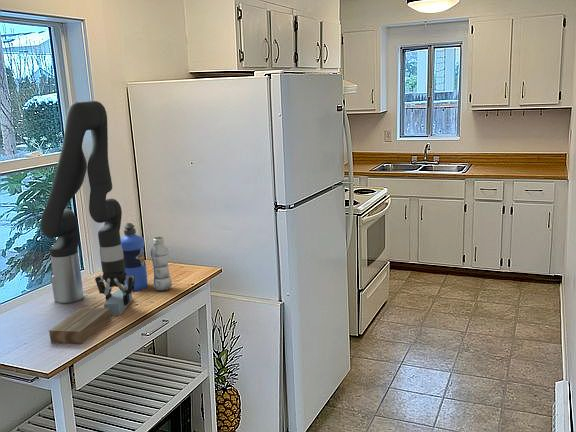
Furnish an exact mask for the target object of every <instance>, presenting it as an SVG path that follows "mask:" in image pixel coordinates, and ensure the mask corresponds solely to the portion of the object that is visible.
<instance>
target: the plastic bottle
mask: <svg viewBox="0 0 576 432" xmlns="http://www.w3.org/2000/svg"><path fill="white" fill-rule="evenodd" d="M152 240H153V241H152V244H153V246H152V247H151V248H150V251H149V252H150V258H151V261H152V266H153V277H154V278H153V286H154V289H155V290H156V291H167V290H169V289H171V287H172V284H173V283H172V279H171V275H170V270H169V269H170V268H169V250H168V248H167V246H166V245H165V244H164V243H165V241H164V237H162V236H156V237H153V238H152Z"/></svg>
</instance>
